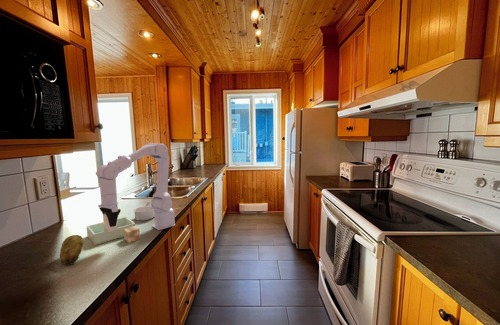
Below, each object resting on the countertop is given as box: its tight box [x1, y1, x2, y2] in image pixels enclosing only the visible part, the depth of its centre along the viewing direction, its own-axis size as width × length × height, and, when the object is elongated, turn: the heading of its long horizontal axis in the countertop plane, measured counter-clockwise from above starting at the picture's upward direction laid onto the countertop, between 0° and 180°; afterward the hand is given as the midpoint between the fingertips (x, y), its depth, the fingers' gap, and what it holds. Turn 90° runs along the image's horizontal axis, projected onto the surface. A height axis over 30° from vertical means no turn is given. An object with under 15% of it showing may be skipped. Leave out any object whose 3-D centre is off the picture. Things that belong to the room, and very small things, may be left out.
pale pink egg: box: [102, 213, 118, 232], centre depth 96 cm, size 5×5×7 cm
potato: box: [59, 234, 84, 266], centre depth 87 cm, size 8×13×8 cm, turn 13°
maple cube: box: [123, 225, 141, 243], centre depth 104 cm, size 5×5×5 cm
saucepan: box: [133, 201, 155, 222], centre depth 136 cm, size 12×20×6 cm, turn 16°
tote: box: [86, 216, 136, 246], centre depth 109 cm, size 17×13×5 cm
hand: (111, 224), depth 96 cm, fingers closed on pale pink egg, 5 cm apart
